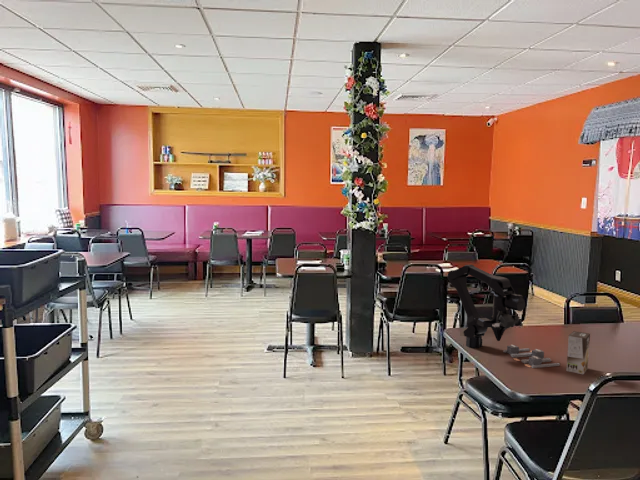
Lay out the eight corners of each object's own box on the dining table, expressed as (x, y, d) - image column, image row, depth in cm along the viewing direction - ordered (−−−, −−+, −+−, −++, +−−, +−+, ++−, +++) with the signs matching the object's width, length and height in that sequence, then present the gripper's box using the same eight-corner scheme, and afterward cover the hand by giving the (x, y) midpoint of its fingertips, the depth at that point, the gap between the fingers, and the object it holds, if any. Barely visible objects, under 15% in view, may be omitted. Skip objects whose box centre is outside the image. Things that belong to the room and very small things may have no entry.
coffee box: (583, 377, 184) (586, 338, 183) (565, 373, 188) (568, 335, 187) (587, 371, 191) (590, 333, 190) (570, 367, 195) (573, 330, 194)
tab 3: (533, 366, 192) (533, 358, 192) (528, 364, 195) (529, 356, 194) (541, 366, 193) (541, 357, 192) (536, 363, 196) (537, 355, 195)
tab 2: (535, 359, 201) (536, 351, 200) (531, 357, 203) (531, 349, 203) (543, 358, 202) (544, 350, 201) (539, 356, 204) (539, 348, 204)
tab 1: (510, 354, 207) (511, 346, 206) (506, 352, 209) (507, 344, 209) (518, 354, 207) (519, 346, 207) (514, 352, 210) (515, 344, 210)
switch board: (529, 371, 190) (529, 366, 190) (500, 354, 210) (500, 350, 210) (562, 368, 194) (563, 363, 194) (531, 352, 213) (531, 348, 213)
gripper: (491, 311, 195) (489, 347, 196) (530, 310, 199) (528, 345, 200) (477, 305, 206) (475, 339, 207) (514, 304, 210) (512, 337, 211)
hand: (498, 340), depth 206 cm, fingers closed
